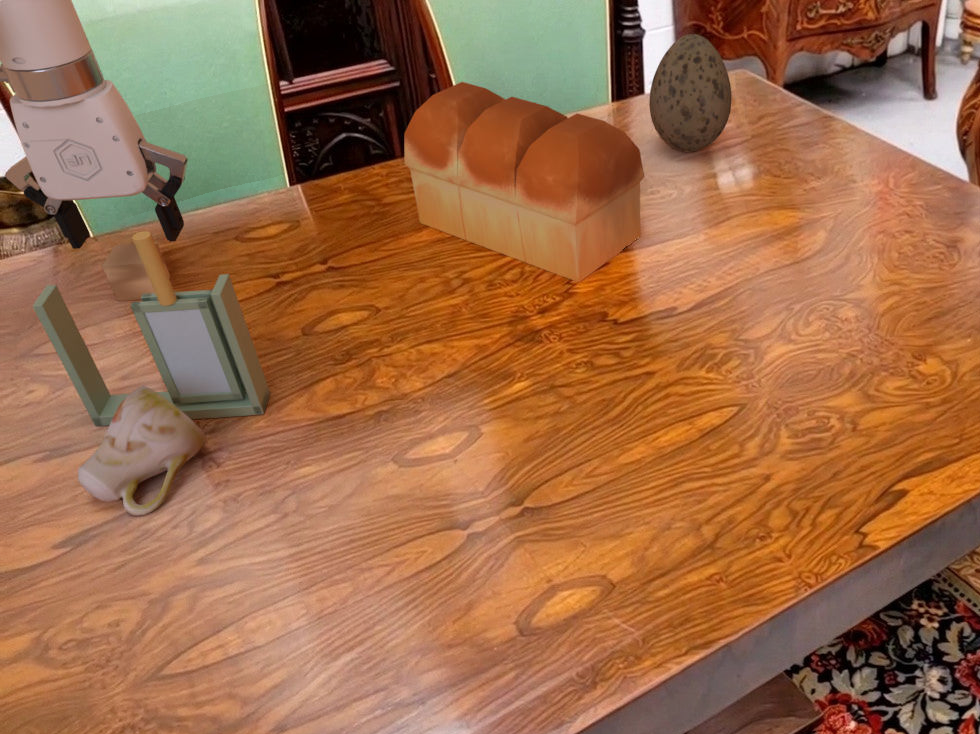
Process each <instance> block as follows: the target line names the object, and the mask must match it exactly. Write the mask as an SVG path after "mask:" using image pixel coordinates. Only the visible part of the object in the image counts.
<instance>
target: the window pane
mask: <svg viewBox="0 0 980 734" xmlns="http://www.w3.org/2000/svg"><path fill="white" fill-rule="evenodd" d="M131 238H132V241H133V244H135V246H136V248H137V251H138V253H139V255H140V258H141V260H142V263H143V265H144V267H145V270H146V272H147V275H148V277H149V279H150V282H151V284H152V287H153V289H154V291H155V294H156V296H157V299H158V301H132V302H131V304H130V308H131V310H132V311H131V312H132V313H133V316H134V318H135V320H136V322H137V324H138V327H139V329H140V331H141V333H142V336H143V339H144V340H145V342H146V344H147V347H148V349H149V352H150V355H151V356H152V359H153V361H154V363H155V365H156V367H157V369H158V372H159V374H160V377H161V379H162V382H163V383H164V385H165V388H166V390H167V391H168V392H169V395H170V397H171V399H172V401H173V404H180V403H194V402H208V401H223V400H238V399H243V398H244V393H243V390H242V388H241V385H240V382H239V380H238V377H237V374H236V372H235V369H234V366H233V363H232V361H231V358H230V355H229V353H228V350H227V347H226V345H225V342H224V339H223V337H222V334H221V331H220V329H219V326H218V323H217V321H216V318H215V315H214V313H213V310H212V307H211V305H210V302H209V299H208V297H204V298H190V299H177V297H176V295H175V292H176V291H175V290H174V287H173V286H172V283H171V280H170V279H169V277H168V275H167V272H166V270H165V267H164V265H163V262H162V260H161V257H160V255H159V252H158V250H157V247H156V245H155V242H156V241H155V240H154V238H153V235H152V233H151V232H150V231H148V230H145V231H144V230H143V231H138V232H136V233H134V234H132V237H131Z"/></svg>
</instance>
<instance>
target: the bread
mask: <svg viewBox="0 0 980 734" xmlns="http://www.w3.org/2000/svg"><path fill="white" fill-rule="evenodd" d="M403 138H404V143H403V145H404V149H403V150H404V153H403V155H404V159H403V160H404V161H403V163H404V165H405V167H407V168H408V169H409V170H410V171H409V172H410V176H411V182H412V186H413V187H412V188H413V192H414V197H415V203H416V210H417V214H418V219H419V223H420V224H421V225H424V226H427V227H429V228H432V229H435V230H438V231H440V232H443V233H445V234H447V235H451V236H453V237H456V238H459V239H462V240H464V241H467V242H470V243H472V244H475V245H478V246H480V247H483V248H485V249H488V250H491V251H494V252H496V253H498V254H502V255H505V256H507V257H510V258H512V259H515V260H518V261H519V262H522V263H525V264H528V265H531V266H533V267H536V268H538V269H542V270H544V271H547V272H550V273H552V274H555V275H557V276H560V277H563V278H565V279H569V280H571V281H574V282H576V283H580V282H581V281H583V280H584V279H586V278H587V277H588V276H590V275H591V274H593V273H594V272H595V271H596V270H598V269H599V268H600V267H602V266H603V265H605V264H606V263H607V262H609V261H611V260H612V259H613V258H614V257H616V256H617V255H618V254H620V253H622V251H624V250H625V249H626V248H625V247H626V246H628V245H629V246H631V245H630V243H632V242H633V241H635V239H637V238H638V237H640V236H641V237H642V233H641V231H642V230H641V182H642V181H643V180H644V178H645V171H644V167H643V161H642V156H641V150H640V148H639V147H638V146H637V145H636V144H635V142H634V141H633V140H632V139H631V137H630V136H629V135H628V134H627V132H624V130H621V129H620V128H617V127H616V126H614V125H613V124H611V123H609V122H607V121H605V120H603V119H599V118H595V117H591V116H588V115H584V114H581V113H574V114H573V115H571V116H570V117H568V116H567V115H565V114H563V113H561V112H559V111H557V110H555V109H553V108H551V107H549V106H548V105H544V104H541V103H536V102H533V101H529V100H526V99H522V98H520V97H519V98H518V97H515V96H510V97H508V98H505V97H502V96H500V95H499V94H497V93H496V92H493V91H492V90H490V89H488V88H486V87H482V86H479V85H475V84H471V83H468V82H464V81H460V82H458V83H456V84H454V85H452V86H449V87H448V88H445V89H442V90H441V91H439V92H437V93H434V94H432V95H431V96H430V97H429V98H428V99H427V100H426V101H425V102H423V103H422V104H421V105H420V107H418V108H417V109H416V110H415V111H414V113H413V115H412V117H411V119H410V121H409V123H408V125H407V127H406V129H405V131H404V137H403ZM641 237H640V238H641ZM635 242H636V241H635ZM633 243H634V242H633ZM633 243H632V244H633ZM629 246H628V247H629ZM624 248H625V249H624ZM623 249H624V250H623Z"/></svg>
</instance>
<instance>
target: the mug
mask: <svg viewBox="0 0 980 734" xmlns="http://www.w3.org/2000/svg"><path fill="white" fill-rule="evenodd" d="M157 392H158V391H155V390H154V389H152V388H150V387H148V386H147V385H141V386H139V387H137V388H136V389H134V390H133V391H131V392H130V393H128V394H129V395H128V396H127V397H126V398H125V399H124V400H123V401H122V402H121V404H120V405H119V407H118V409H117V410H116V412H115V414H114V417H113V419H112V421H111V423H110V425H108V428H107V430H106V433H105V435H104V437H103V439H102V441H101V443H100V445H99V446H98V448H97V449H95V450H94V452H93V453H92V454H91V455H90V457H89V458H87V459H86V460H85V461H84V463H82V464H81V465H80V466H79V468H78V470H77V480H78V483H79V484H80V485H81V487H82V488H83V489H84V490H85V491H87V493H89V494H90V495H91V496H93V497H94V498H95V499H97V500H100V501H102V502H106V503H107V502H108V503H109V502H118V501H120V500H121V499H122V505H123V508H124V510H125V511H126V512H127V513H128V514H130V515H132V516H144V515H147V514H149V513H152V512H154V511H155V510H156V509H158V508H159V507H161V505H162V504H163V503H164V502H165V500H166V499H167V497H168V495H169V493H170V491H171V489H172V487H173V484H174V482H175V480H176V477H177V476H178V474H179V472H180V470H182V468H183V467H184V466H185V464H186V463H187V462H188V461H189V460H191V459H192V458H193V457H194V456H195V455H197V454H198V453H199V452H200V450H201V449H202V448H203V447H204V446H205V445H206V444H207V443H208V437H207V435H206V433H204V431H203V430H202V429H201V427H200V426H199V425H198V424H196V423H195V421H194V420H193V419H192V420H191V419H190V418H189V417H188V416H187V415H185V414H184V413H183V412H182V411H181V410H180V409H178V408H177V407H176V406H175V405H173V404H172V403H171V402H170V401H168V400H167V399H165V398H164V397H163V396H161V395H160V394H158V393H157ZM166 471H167V472H166ZM164 472H166V474H165V477H164V480H163V483H162V486H161V488H160V490H159V492H158V494H157V495H156V496H155V498H154V499H153V500H150V502H147V503H145V504H139V503H137V502H136V501H135V500H134V498H133V497H134V494H135V492H136V491H137V489H138V485H139V484H141V483H142V482H143V481H146V480H148V479H150V478H152V477H154V476H156V475H159V474H161V473H164Z"/></svg>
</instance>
